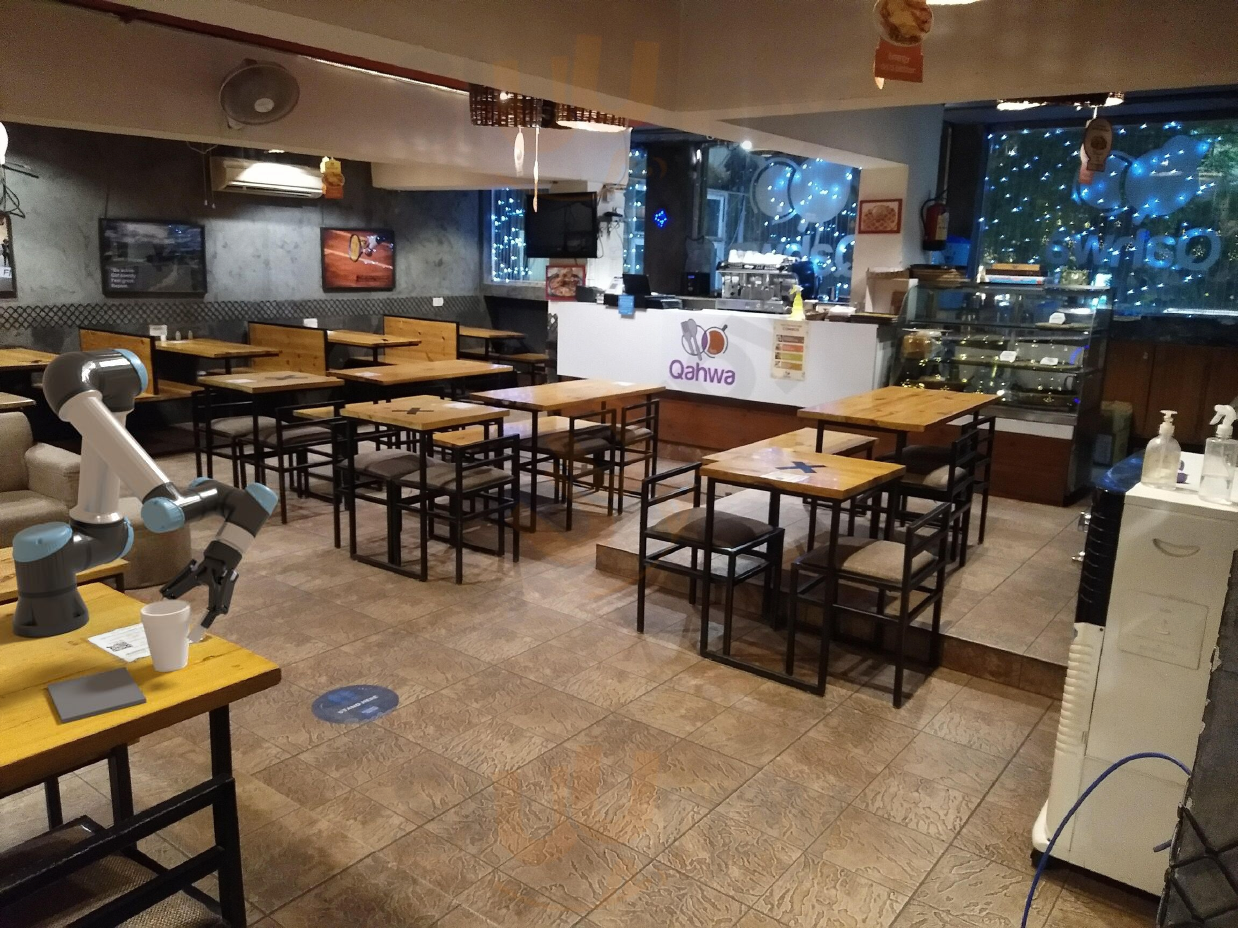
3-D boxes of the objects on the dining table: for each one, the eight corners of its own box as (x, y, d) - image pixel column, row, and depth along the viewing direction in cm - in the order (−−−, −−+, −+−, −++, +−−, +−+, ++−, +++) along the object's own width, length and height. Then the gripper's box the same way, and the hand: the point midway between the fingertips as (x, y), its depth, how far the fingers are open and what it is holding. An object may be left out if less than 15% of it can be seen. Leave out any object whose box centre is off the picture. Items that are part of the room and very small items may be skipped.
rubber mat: (47, 688, 179) (46, 684, 179) (125, 670, 188) (125, 666, 188) (62, 723, 166) (62, 719, 166) (146, 701, 175) (146, 698, 174)
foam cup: (175, 677, 185) (169, 617, 183) (135, 672, 187) (129, 613, 185) (204, 658, 195) (200, 601, 192) (166, 654, 196) (161, 597, 194)
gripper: (277, 565, 196) (222, 654, 186) (203, 546, 208) (148, 629, 198) (254, 548, 190) (196, 638, 180) (180, 530, 202) (122, 614, 192)
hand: (171, 634), depth 189 cm, fingers open, 13 cm apart
